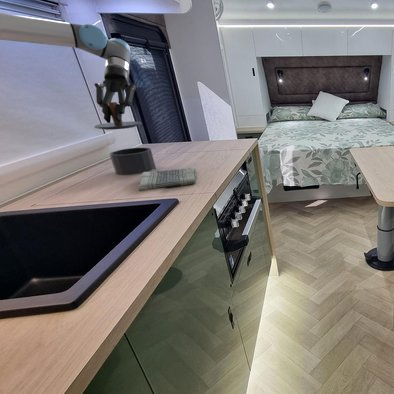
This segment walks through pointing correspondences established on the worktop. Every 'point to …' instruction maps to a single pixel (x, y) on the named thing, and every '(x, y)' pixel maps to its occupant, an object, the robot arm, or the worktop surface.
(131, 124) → the pot lid
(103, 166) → the worktop surface
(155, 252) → the worktop surface
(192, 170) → the dish towel
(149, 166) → the pot
